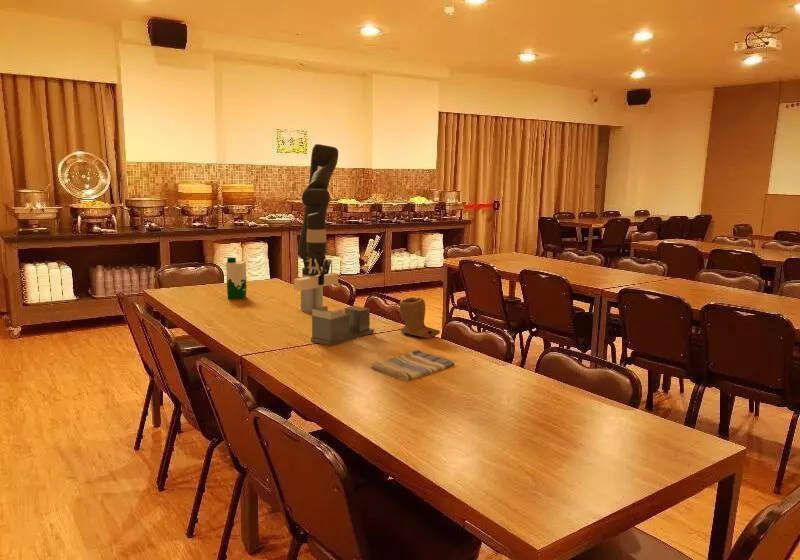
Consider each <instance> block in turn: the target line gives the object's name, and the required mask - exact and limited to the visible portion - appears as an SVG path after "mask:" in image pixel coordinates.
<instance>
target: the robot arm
mask: <svg viewBox="0 0 800 560" xmlns="http://www.w3.org/2000/svg"><path fill="white" fill-rule="evenodd" d="M311 150H312V151H311V156H310V157H311V158H310V169H309V180H308V185H307V186H306V187H305V188H304V190H303V192H302V195H301V201H302V204H303V205H304V215H303V223H302V228H301V232H300V236H299V241H298V244H297V252H298V253H297V254H298V256H299V258H300V259H301V260H302V262H303V267H302V268H301V275H302V276H301V278H303V277H309V276H315V275H319V276H318V284H319V285H323V284H324V275H326V274H328V273H330V267H331V263H332V260H331V259H328V258H327V257H326V255H325V254H326V253H327V232H326V231H327V230H326V217H327V216H326V215H327V211H328V207H329V204H330V199H331V195H330V192H329V191H328V188H329V183H330V180H331V177H332V176H333V174H334V171H335V169H336V167H337V165H338V161H339V160H338V159H339V150H338V148H337V147H334V146H331V145H325V144H321V143H315V144H313V147H312V149H311ZM323 288H324V286H323V287H318V288H312V289H307V290H302V291H301V290H300V311H302V312H304V313H309V314H312V309H314V308H318V307H323V306H324V292H323V291H324V289H323Z"/></svg>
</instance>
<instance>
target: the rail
mask: <svg viewBox="0 0 800 560" xmlns="http://www.w3.org/2000/svg"><path fill="white" fill-rule="evenodd" d="M318 276H319V275H315V276H309V277H303V278H302V277H298V278H293V289H294V290H296V291H300V292H301V291H302V290H307V289H312V288H318V287H323V288H324V287H327V286H333V285H338V284H339V274H338V273H335V272H328V274H326V275H324V284H323V285H319V284H318Z"/></svg>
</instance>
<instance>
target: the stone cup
mask: <svg viewBox="0 0 800 560" xmlns="http://www.w3.org/2000/svg"><path fill="white" fill-rule="evenodd" d="M398 307H399V310H400V314H401V316H402V319H403V321H404V326H403V327H401V328H400V329H399V331H400V332H401V333H404V334H407V335H410V336H415V337H420V338H425V339H429V338H431V339H432V338H433V336H434V337H436V336H438V335H440V333H441V331H440V330H439V329H435V328H432V327H428V326H426V325H425V317H426V316H425V315H426V302H425V300H424V298H422V297H420V296H419V297H415V296H414V297H413V296H411V297H408V298H403V299H401V300H400V301H399V306H398Z"/></svg>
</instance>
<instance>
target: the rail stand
mask: <svg viewBox="0 0 800 560" xmlns="http://www.w3.org/2000/svg"><path fill="white" fill-rule="evenodd" d="M328 308H329V307H328V305H323V307H318V308H314V309H312V313H311V331H312V332H311V337H310V342H311V343H316V344H319V345H324V346H327V347H333V346H335V345H339V344H342V343H345V342H349V341H352V340H355V339H358V338H362V337H365V336H368V335H371V334H374V333H375V332H374V331H375V329H374V328H370V322H371V321H370V319H371V318H370V317H371V316H370V315H371V314H370V310H371V308H369V307H362V306H357V305H351V306H348V307H344V309H342V308H340V309H335V310H329V309H328Z"/></svg>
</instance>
